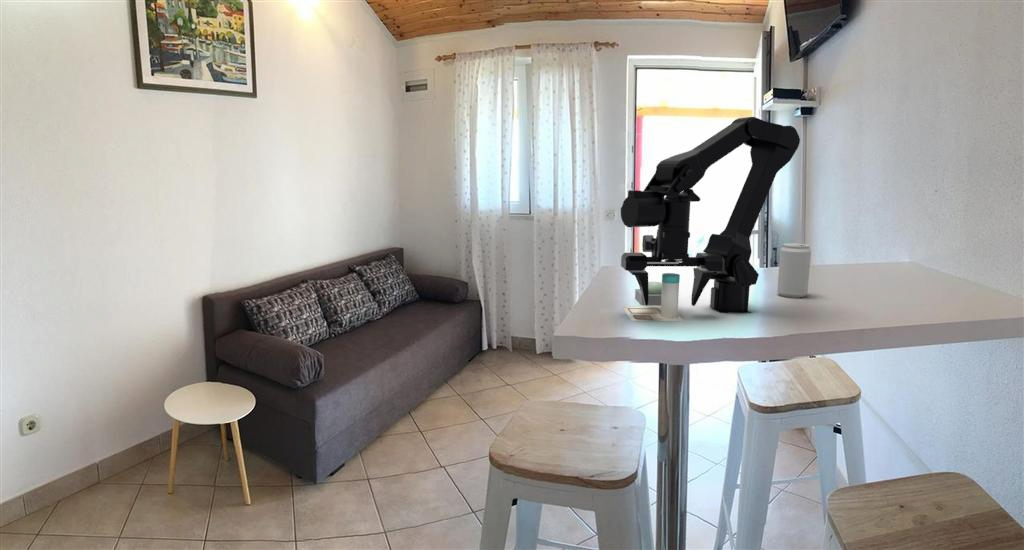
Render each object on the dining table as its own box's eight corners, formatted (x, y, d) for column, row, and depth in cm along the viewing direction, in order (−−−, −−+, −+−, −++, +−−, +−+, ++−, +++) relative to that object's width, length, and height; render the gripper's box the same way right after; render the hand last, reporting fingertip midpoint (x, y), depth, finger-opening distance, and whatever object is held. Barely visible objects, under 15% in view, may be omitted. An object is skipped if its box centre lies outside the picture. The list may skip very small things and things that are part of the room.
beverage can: (810, 299, 135) (815, 246, 133) (780, 297, 137) (784, 245, 135) (803, 293, 142) (807, 243, 139) (774, 292, 143) (778, 242, 141)
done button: (660, 292, 132) (661, 281, 131) (664, 296, 128) (665, 284, 128) (644, 292, 132) (644, 281, 131) (648, 296, 128) (648, 284, 128)
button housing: (666, 300, 134) (666, 289, 133) (674, 307, 127) (674, 295, 127) (634, 300, 134) (635, 289, 133) (641, 307, 127) (641, 295, 127)
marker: (675, 313, 119) (677, 273, 118) (679, 317, 116) (681, 276, 114) (658, 313, 119) (660, 273, 118) (662, 317, 116) (664, 276, 114)
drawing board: (672, 307, 126) (672, 305, 126) (691, 324, 113) (691, 321, 113) (615, 307, 127) (615, 305, 126) (628, 324, 113) (628, 321, 113)
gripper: (709, 222, 122) (704, 296, 125) (617, 221, 122) (615, 296, 125) (728, 227, 111) (722, 309, 114) (627, 227, 111) (624, 308, 114)
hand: (669, 305), depth 117 cm, fingers open, 9 cm apart
